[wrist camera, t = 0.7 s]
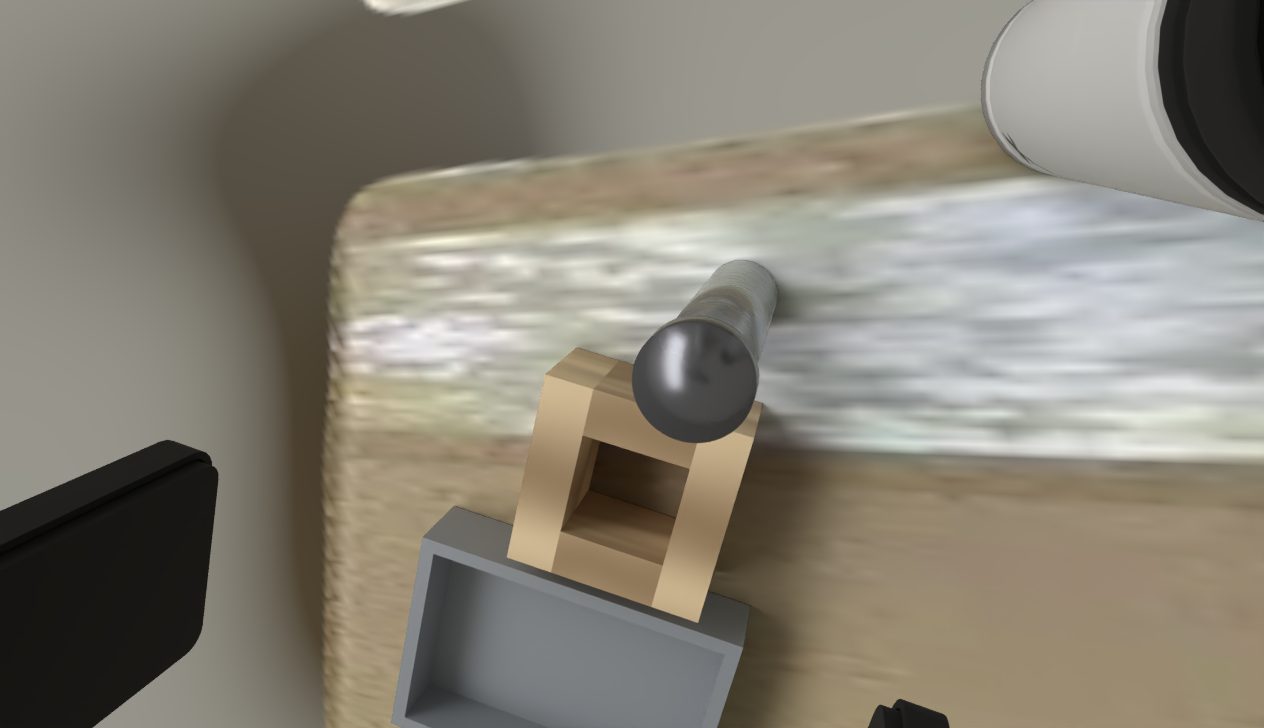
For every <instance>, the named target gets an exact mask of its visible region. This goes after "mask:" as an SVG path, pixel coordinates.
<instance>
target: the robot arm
mask: <svg viewBox="0 0 1264 728" xmlns="http://www.w3.org/2000/svg"><path fill="white" fill-rule="evenodd" d="M217 487H218V471H217V469H216V468H215V467H213V466H212V461H211V458H210V456H209V455H208V454H207V453H206V452H203V451H200V450H197V449H194V448H192V447H189V446H186V445H183V444H180V443H178V442H175V441H171V440H165V441H161V442H158V443H156V444H154V445H151V446H149V447H147V448H144V449H142V450H140V451H138V452H136V453H133V454H131V455H128V456H126V457H124V458H121V459H119V460H117V461H115V462H112V463H110V464H108V465H105V466H103V467H101V468H98V469H96V470H94V471H91V472H89V473H87V474H84V475H82V476H80V477H78V478H75V479H73V480H71V481H68V482H66V483H64V484H62V485H59V486H57V487H54V488H52V489H50V490H48V491H46V492H43V493H41V494H38V495H36V496H34V497H31V498H29V499H27V500H24V501H22V502H20V503H18V504H15V505H13V506H11V507H8V508H6V509H4V510H1V511H0V728H92V727H94V726H95V725H96V724H98V723H99V722H100V721H101V720H103V719H104V718H105V717H107V716H108V715H109V714H110V713H111V712H113V711H114V710H115V709H117V708H118V707H119V706H121V705H122V704H123V703H124V702H126V701H127V700H128V699H130V698H131V697H132V696H133V695H135V694H136V693H137V692H139V691H140V690H141V689H142V688H144V687H145V686H146V685H148V684H149V683H150V682H151V681H153V680H154V679H155V678H157V677H158V676H159V675H160V674H162V673H163V672H164V671H165V670H167V669H168V668H169V667H171V666H172V665H173V664H174V663H175V662H177V661H178V660H179V659H181V658H182V657H183V656H185V655H186V654H187V653H188V652H189V651H190V650H191V649H192V647H193V646H194V645H195V643H196V642H197V640H198V638H199V635H200V633H201V630H202V625H203V616H204V607H205V598H206V589H207V579H208V570H209V561H210V551H211V543H212V533H213V524H214V515H215V506H216V496H217ZM868 728H949V723H948V720H947V717H946V716H945V715H944V714H942V713H939V712H936V711H933V710H930V709H928V708H925V707H922V706H919V705H916V704H913V703H911V702H908V701H905V700H902V699H899V700H897V701H896V702H895V704H894V705H893V707H892V708H889V707H886V706H883V705H879V706H878V707H877V708H876V710H875V712H874V714H873V717H872V719H871V722H870V724H869V726H868Z"/></svg>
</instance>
